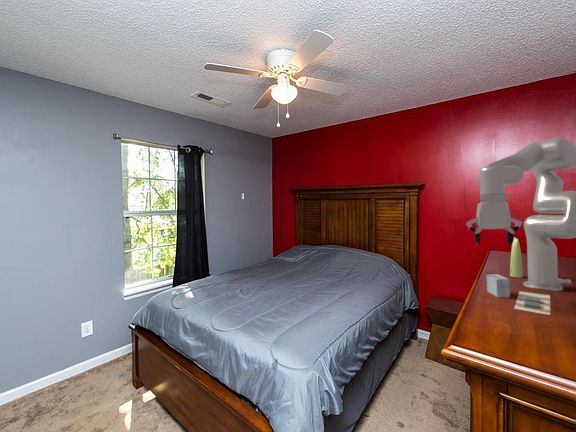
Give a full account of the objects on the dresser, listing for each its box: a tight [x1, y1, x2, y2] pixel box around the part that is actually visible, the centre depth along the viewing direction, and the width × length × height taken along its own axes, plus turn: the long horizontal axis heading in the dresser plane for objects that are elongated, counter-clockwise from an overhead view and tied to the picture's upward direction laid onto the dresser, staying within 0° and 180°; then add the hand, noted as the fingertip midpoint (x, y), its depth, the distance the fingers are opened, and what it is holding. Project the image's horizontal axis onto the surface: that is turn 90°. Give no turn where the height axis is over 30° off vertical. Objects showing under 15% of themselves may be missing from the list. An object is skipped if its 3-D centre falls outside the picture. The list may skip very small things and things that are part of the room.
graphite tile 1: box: [524, 301, 540, 309], centre depth 95 cm, size 4×4×1 cm
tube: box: [509, 236, 524, 279], centre depth 137 cm, size 6×5×20 cm
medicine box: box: [486, 273, 511, 298], centre depth 109 cm, size 8×4×9 cm, turn 168°
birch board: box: [513, 290, 551, 316], centre depth 100 cm, size 24×9×2 cm, turn 136°
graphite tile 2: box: [525, 296, 541, 303], centre depth 100 cm, size 4×4×1 cm
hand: (493, 243), depth 104 cm, fingers open, 9 cm apart
